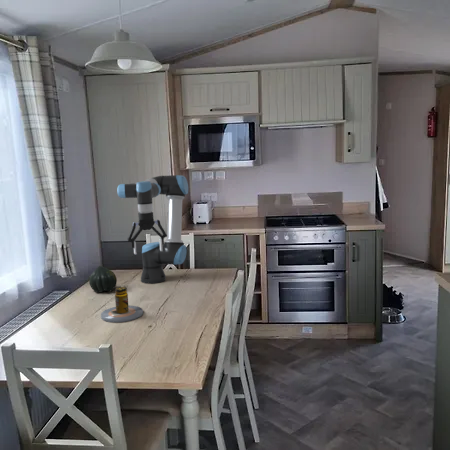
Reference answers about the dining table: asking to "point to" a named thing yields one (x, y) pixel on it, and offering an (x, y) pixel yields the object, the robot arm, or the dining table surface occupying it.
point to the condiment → (121, 301)
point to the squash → (102, 279)
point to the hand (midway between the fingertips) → (148, 252)
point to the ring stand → (134, 314)
